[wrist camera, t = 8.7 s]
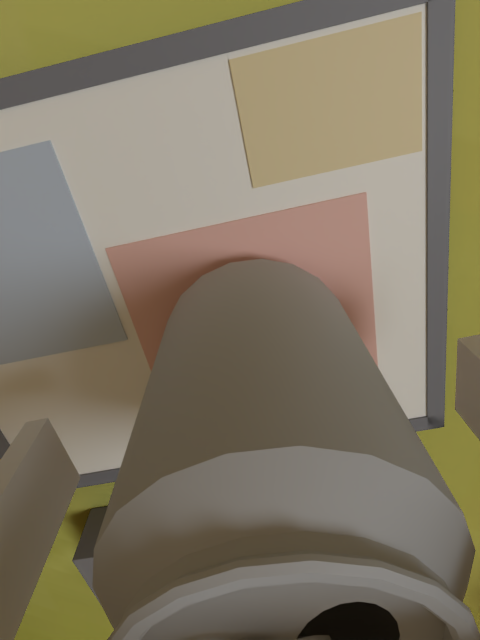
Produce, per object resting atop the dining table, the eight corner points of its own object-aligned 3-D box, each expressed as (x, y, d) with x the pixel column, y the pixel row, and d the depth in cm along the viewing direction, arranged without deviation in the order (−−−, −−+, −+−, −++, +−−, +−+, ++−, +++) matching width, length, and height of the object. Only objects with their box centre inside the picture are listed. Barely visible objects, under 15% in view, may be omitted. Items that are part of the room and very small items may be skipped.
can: (331, 406, 19) (459, 782, 8) (172, 404, 19) (91, 787, 8) (356, 253, 16) (629, 552, 5) (163, 249, 15) (1, 550, 5)
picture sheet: (31, 485, 22) (25, 496, 21) (-194, 133, 14) (-214, 133, 13) (437, 417, 20) (444, 426, 20) (444, -31, 12) (456, -39, 12)
